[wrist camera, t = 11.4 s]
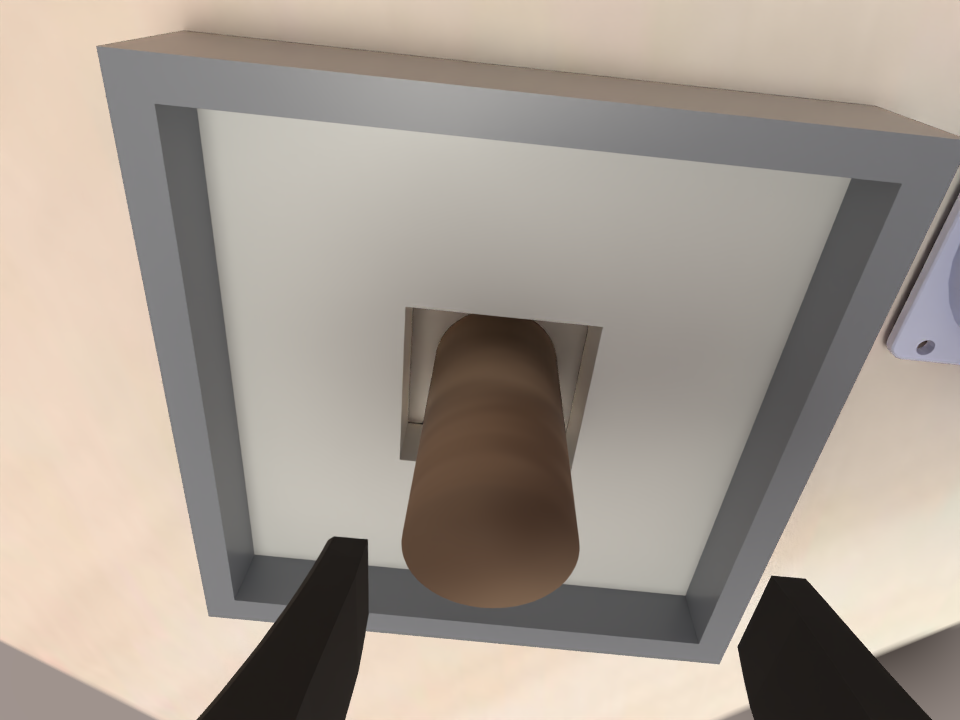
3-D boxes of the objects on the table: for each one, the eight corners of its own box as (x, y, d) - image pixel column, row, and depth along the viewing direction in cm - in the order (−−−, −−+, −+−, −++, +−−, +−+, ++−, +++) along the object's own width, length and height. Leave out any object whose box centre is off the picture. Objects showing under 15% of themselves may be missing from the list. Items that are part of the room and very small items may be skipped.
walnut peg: (580, 371, 21) (614, 561, 14) (487, 431, 23) (479, 629, 16) (504, 285, 20) (503, 452, 13) (410, 355, 21) (364, 538, 14)
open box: (875, 105, 17) (970, 140, 13) (691, 573, 26) (719, 664, 23) (182, 30, 16) (96, 46, 13) (248, 530, 26) (208, 616, 22)
